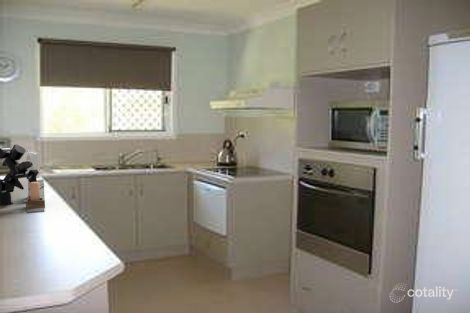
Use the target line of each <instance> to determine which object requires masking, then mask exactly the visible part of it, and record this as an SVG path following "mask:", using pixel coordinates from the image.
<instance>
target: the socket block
mask: <svg viewBox="0 0 470 313" xmlns="http://www.w3.org/2000/svg"><path fill="white" fill-rule="evenodd" d="M45 201H46V199H45V197H44V198H40V200H37V201H31V199H29V198H25V210H27V209H34V208H44V209H45V208H46V202H45Z"/></svg>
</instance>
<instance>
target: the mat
mask: <svg viewBox="0 0 470 313" xmlns="http://www.w3.org/2000/svg"><path fill="white" fill-rule="evenodd" d="M44 212H45V208H34V209H26V214H31V213H44Z"/></svg>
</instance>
